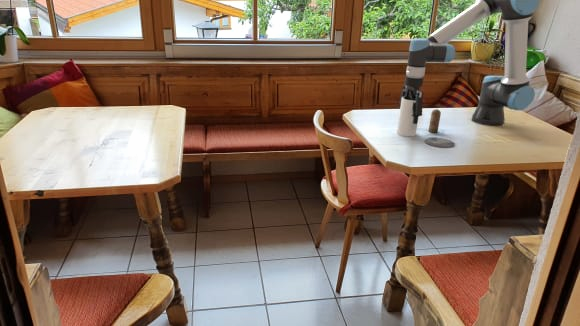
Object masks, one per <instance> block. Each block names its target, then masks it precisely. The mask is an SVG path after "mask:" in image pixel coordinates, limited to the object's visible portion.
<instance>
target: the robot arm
mask: <svg viewBox="0 0 580 326" xmlns="http://www.w3.org/2000/svg"><path fill="white" fill-rule="evenodd" d="M540 1H541V0H474V3H473V4H471V6H468V8H466V9H465V10H464V11H462V12H461V13H459V14H457V16H455V17H453V18H452V19H450V20H449V21H448V22H446V23H445V24H444V25H442V26H441V27H439V28H438V29H437V30H435V31H433V33H431V34H430V35H428V36H426V37H425V38H419V37H418V38H411V40H410V44H409V49H408V57H407V66H406V70H405V71H406V72H405V75H406V76H405V78H404V85H402V89H401V90H402V91H401V93H400V98H399V102H398V108H400V107H401V100H402V97H404V96H405V99H406V100H413V101H416V103H414V102H413V107H412V109H413V115H412V118H411V124H410V131H416V132H417V130H416V128H418V123H419V117H422V115H423V97H424V92H423V91H422V92H421V90H420V88H422V87H423V85H424V81H425V80H424V79H425V78H424V77H425V74H426V73H425V72H426V67H427V63H443V64H445V63H451V62H452V61H453V60H454V58H455V55H456V49H455V46H454V45H453V44H449V42H451V41H453V40H454V39H455V38H457V37H458V36H460V35H461V34H462V33H464V32H465V31H466V30H468V29H469V28H471V27H472V26H474V25H476V24H477V23H478V22H480V21H481V20H483V19H488V18H490V17H491V16H493V15H496V14H499V13H501V20H502V21H503V22H504V23H505V34H504V35H505V36H504V37H505V39H504V40H505V41H504V46H505V47H504V75H486V76H485V77H483V81H482V85H481V89H480V95H479V99H478V105H477V106H476V109H475V110H474V112H473V114H472V115H471V121H472V122H474V123H477V124H480V125H485V126H491V127H492V126H494V127H495V126H496V127H499V126H500V127H501V126H503V124H505V121H506V119H505V111H504V108H508V109H509V110H514V111H523V110H525V109H527V108H528V107H529V106H530V105H531V104H532V103H533V101H534V99H535V97H536V96H535V95H536V92H535V89H534V88H533V87H532V86H530V77H529V76H527V60H528V59H527V56H528V35H529V34H528V33H529V21H530V20H531V19H532V18H533V15H534V13H535V11H536V10H537V8H538V7H539V6H540ZM415 98H416V99H415Z"/></svg>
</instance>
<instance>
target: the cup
mask: <svg viewBox="0 0 580 326" xmlns="http://www.w3.org/2000/svg"><path fill="white" fill-rule="evenodd" d="M415 99H416V98H415ZM413 102H414V103H416V101H413V100H406V99H405V96H404V97H402V100H401V107H399V108H400V109H399V115H398V122H397V129H396V134H397V135H399V136H402V137H414V136H416V134H417V128H418V127H417V128H416V131H410V124H411V118H412V115H413V109H412V107H413Z"/></svg>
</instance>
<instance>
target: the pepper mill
mask: <svg viewBox="0 0 580 326" xmlns="http://www.w3.org/2000/svg"><path fill="white" fill-rule="evenodd" d="M441 113H442V112H441V111H440V109H437V108H436V109H433V110H432V111H431V115H430V120H429V126H428V132H429V133H432V134H437V133H438V132H439V126H440V125H439V124H440V120H441V115H442V114H441Z"/></svg>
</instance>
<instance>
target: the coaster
mask: <svg viewBox="0 0 580 326" xmlns="http://www.w3.org/2000/svg"><path fill="white" fill-rule="evenodd" d="M424 143H425V144H427V145H428V146H430V147H431V146H432V147H434V148H439V149H440V148H441V149H442V148H443V149H450V148H453V147H454V146H455V144H456V143H455V142H454V141H452V140H451V139H448V138H443V137H437V136H430V137H427V138H425V139H424Z"/></svg>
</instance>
